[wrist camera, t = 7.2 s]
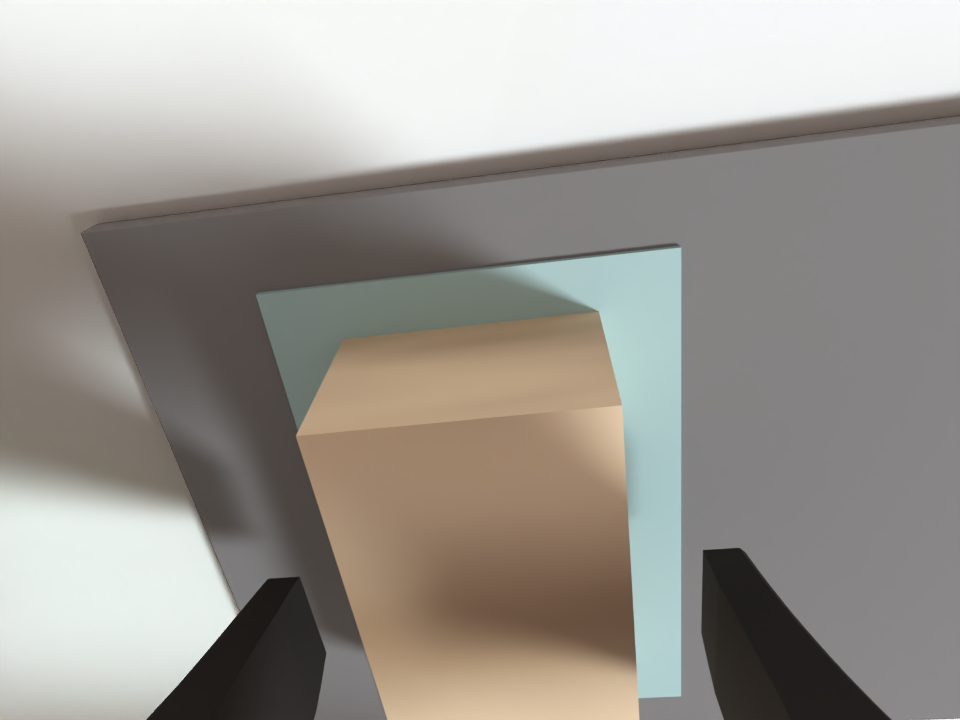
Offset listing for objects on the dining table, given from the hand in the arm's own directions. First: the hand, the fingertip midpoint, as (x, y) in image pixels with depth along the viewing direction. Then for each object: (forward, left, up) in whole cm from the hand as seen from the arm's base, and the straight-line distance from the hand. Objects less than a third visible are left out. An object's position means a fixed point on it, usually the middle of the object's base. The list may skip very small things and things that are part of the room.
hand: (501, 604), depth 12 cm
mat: (+4, -4, -3) cm, 6 cm away
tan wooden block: (0, 0, -2) cm, 2 cm away
